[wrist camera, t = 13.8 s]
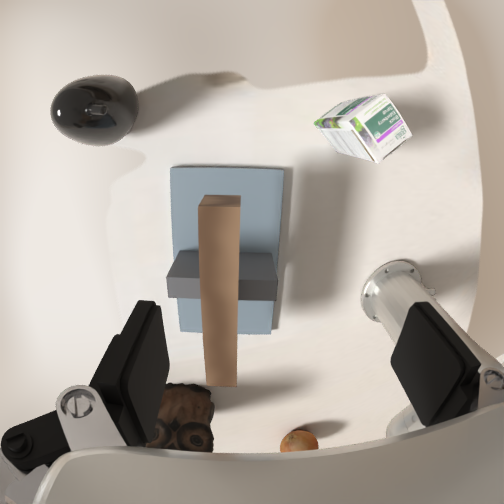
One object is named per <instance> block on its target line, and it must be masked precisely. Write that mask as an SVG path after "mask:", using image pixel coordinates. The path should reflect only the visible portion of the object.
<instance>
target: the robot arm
mask: <svg viewBox="0 0 504 504" xmlns="http://www.w3.org/2000/svg"><path fill="white" fill-rule="evenodd" d="M433 295H435V289H434V288H428V289H427V288H426V287H425V286H424V285H423V284H422V280H421V276H420V274H419V272H418V270H417V269H416V268H415V267H414V266H413V265H412V264H410V263H408V262H405V261H394V262H390V263H387V264H385V265H383V266H382V267H380V268H379V269H377V270H376V271H375V272H374V273H373V274H372V275H371V276H370V277H369V279H368V280H367V282H366V284H365V286H364V288H363V291H362V294H361V305H362V308H363V310H364V312H365V314H366V315H367V316H368V317H369V318H370V319H371V320H373V321H376V322H381V323H382V325H383V326H384V328H385V329H386V331H387V332H388V334H389V336H390V337H391V339H392V340H393V342H394V344H395V345H396V346H395V349H394V351H393V354H392V356H391V366H392V368H393V370H394V371H395V373H396V375H397V377H398V379H399V381H400V383H401V385H402V386H403V388H404V390H405V392H406V394H407V396H408V398H409V400H410V402H411V404H410V405H408V406H407V407H406V408H405V409H403V410H402V411H401V412H400V413H398V414H397V415H396V416H395V417H394V418H393V419H392V420H391V421H390V423H389V424H388V426H387V429H386V438H383V439H379V440H374V441H369V442H364V443H358V444H353V445H347V446H340V447H333V448H325V449H317V450H307V451H295V452H281V453H207V452H191V451H179V450H169V449H157V448H146V443H151V442H152V439H153V435H154V430H155V426H156V422H157V417H158V413H159V409H160V405H161V401H162V397H163V393H164V389H165V385H166V381H167V377H168V373H169V367H170V363H169V356H168V351H167V345H166V339H165V332H164V326H163V319H162V312H161V307H160V306H158V305H156V303H155V302H154V301H144V300H139V301H138V302H137V304H136V306H135V308H134V309H133V311H132V313H131V315H130V317H129V319H128V321H127V322H126V324H125V326H124V328H123V330H122V332H121V334H120V335H119V334H117V335H115V336H114V337H113V339H112V341H111V343H110V344H109V346H108V348H107V350H106V352H105V354H104V356H103V358H102V360H101V362H100V364H99V366H98V368H97V370H96V372H95V374H94V376H93V378H92V380H91V382H90V384H89V386H85V385H76V386H72V387H69V388H67V389H65V390H64V391H63V392H62V393H61V394H60V395H59V397H58V398H57V401H56V410H55V411H53V412H50V413H48V414H45V415H42V416H40V417H37V418H35V419H32V420H30V421H27V422H25V423H22V424H19V425H17V426H14V427H12V428H10V429H9V430H7V431H6V432H5V434H4V435H3V437H2V441H1V448H0V504H504V367H503V366H502V365H501V364H500V363H499V362H498V361H497V360H496V359H495V358H494V357H493V356H491V355H490V354H489V353H488V352H486V351H485V350H484V349H483V348H481V347H480V346H479V345H478V344H477V343H476V342H475V341H473V340H472V339H471V338H470V336H468V334H467V333H466V332H465V331H464V330H463V329H462V328H461V327H460V326H459V325H458V324H457V323H456V322H455V320H454V319H453V318H452V317H451V316H450V315H449V314H448V313H447V312H446V311H445V310H444V309H443V308H442V307H441V305H440V304H439V303H438V302H437V301H436V299H435V298H433V297H432V296H433Z"/></svg>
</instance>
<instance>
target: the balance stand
mask: <svg viewBox="0 0 504 504" xmlns="http://www.w3.org/2000/svg"><path fill="white" fill-rule="evenodd" d="M283 180H284V170H283V169H264V168H236V167H172V168H170V188H171V219H172V239H173V256H174V263H173V265H172V267H171V269H170V271H169V273H168V275H167V277H166V279H167V289H168V298H177V304H178V314H179V323H180V331H181V332H198V333H203V331H202V315H201V297H200V274H199V243H198V205H199V204H200V202H201V200H202V199H203V197H204V195H241V208H240V241H239V280H238V326H237V334H271V328H272V318H273V307H274V301H276V296H277V285H278V278H277V262H278V249H279V237H280V224H281V210H282V195H283Z"/></svg>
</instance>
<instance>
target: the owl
mask: <svg viewBox="0 0 504 504" xmlns="http://www.w3.org/2000/svg"><path fill="white" fill-rule="evenodd" d="M210 396H211V392H210V391H209V390H207V389H205V388H203V387H201V386H199V385H196V384H190V385H184V384H183V383H181V384H174V385H173V384H172V383H168V384H166V385H165V389H164V393H163V397H162V401H161V405H160V409H159V413H158V417H157V422H156V426H155V430H154V435H153V439H152V442H151V443H146V448H157V449H169V450H179V451H191V452H207V453H212V452H213V446H214V445H213V440H214V437H213V434H212V431H211V428H210V423H211V421H212V418H213V415H214V408H215V406H214V404H213V402H211V400H210Z"/></svg>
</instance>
